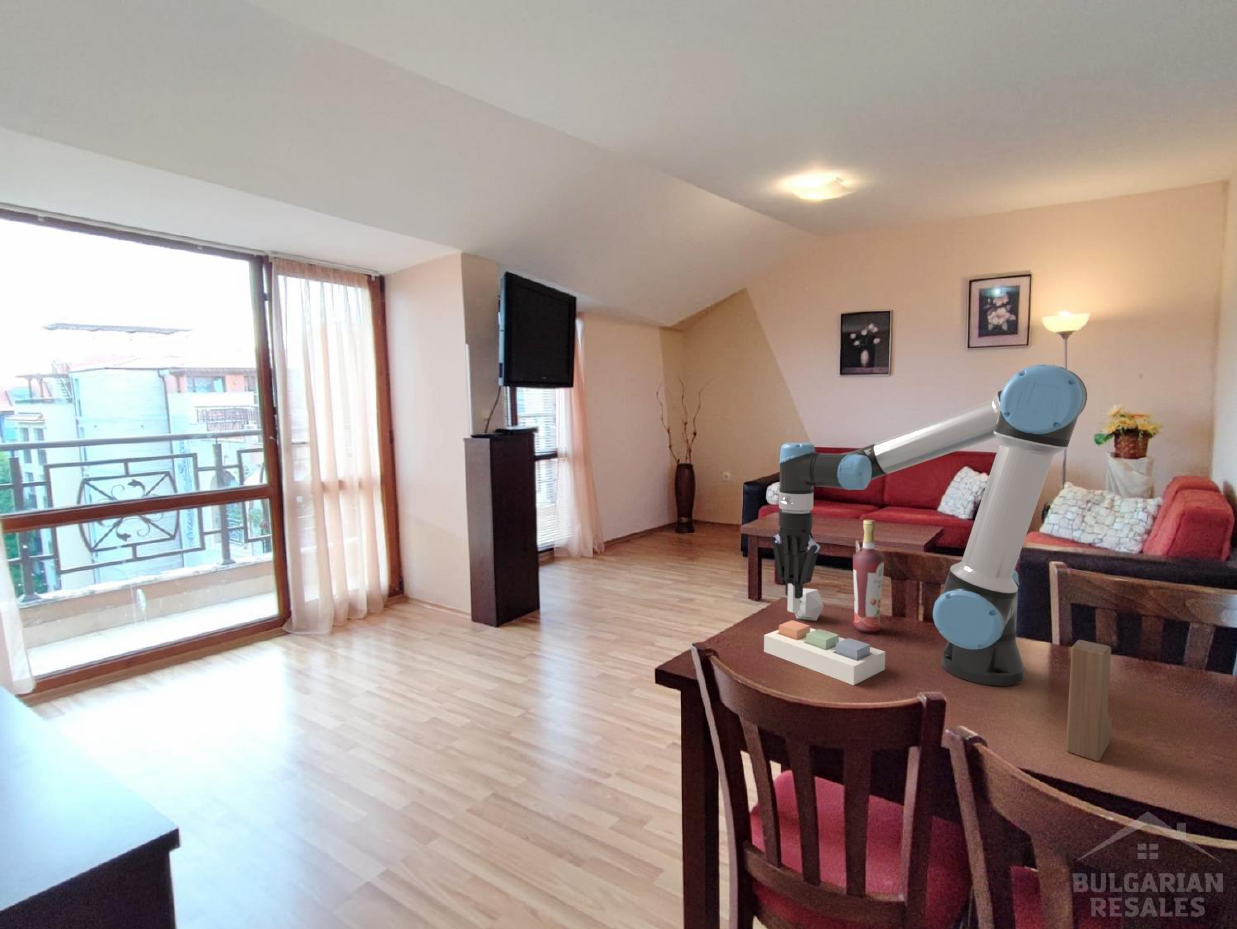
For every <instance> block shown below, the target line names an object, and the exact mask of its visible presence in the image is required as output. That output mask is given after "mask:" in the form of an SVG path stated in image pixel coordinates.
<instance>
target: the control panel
mask: <svg viewBox="0 0 1237 929" xmlns="http://www.w3.org/2000/svg"><path fill="white" fill-rule="evenodd" d="M815 630H816V629H815V628H813V627H812V628H811V627H810V632H812V631H815ZM845 639H846V638H843V637H840V636H839V642H841V641H843V640H845ZM763 652H764V653H767V654H769V655H772V656H774V657H776V658H780V659H783V660H785V661H788V662H790V663H793V664H796V665H799V666H800V667H803V668H806V669H809V670H811V671H814V672H817V673H821V674H823V675H825V676H827V677H831V678H832V679H833V678H834V679H835V680H838V681H841V682H843V683H847V684H849V685H851V686H856V685H857V684H859V683H861V682H863V681H865V680H867V679H869V678H871V677H873V676H874V675H877V674H879V673H881V672H882V671H885V669H886V650H885V651H884V650H881V649H878V648H875V647H872V646H870V656H867V657H865V658H863V659H861V660H859V661H856V660H853V659H850V658H847V657H844V656H841V655H838V654H836V646H835V647H833V648H831V649H828V650H824V649H821V648H818V647H815V646H812V645H809V644H806V637H805V638H802V639H800V640H794V639H791V638H789V637H786V636H783V635H780V634H779V629H777V630H773V631H772V632H768V633H766V634H763Z"/></svg>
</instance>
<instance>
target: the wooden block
mask: <svg viewBox="0 0 1237 929" xmlns="http://www.w3.org/2000/svg"><path fill="white" fill-rule="evenodd" d="M1070 653H1071V654H1070V669H1069V672H1070V673H1069V674H1070V675H1069V690H1068V709H1067V724H1066V725H1067V726H1066V743H1065V744H1066V745H1065V749H1066V752H1068V753H1070V754H1073V753H1074V755H1076V756H1080V757H1083V758H1085V759H1088V760H1091V761H1094V762H1100V761H1101V758H1102V757H1103V755H1104V753H1105V752H1106V750H1107V748H1108V747H1109V745H1110V743H1111V742H1112V741H1111V739H1112V728H1113V727H1112V726H1113V718H1112V716H1110V715H1108V712H1109V708H1108V707H1109V706H1108V705H1109V694H1110V693H1109V689H1110V688H1109V687H1110V677H1111V676H1110V674H1111V658H1112V656H1111V654H1112V647H1111V646H1110V645H1106V644H1102V643H1101V644H1100V643H1096V642H1093V641H1092V642H1091V641H1087V640H1083V639H1078V640H1076V642H1075V643H1074V644H1072V647H1071V651H1070Z"/></svg>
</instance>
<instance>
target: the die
mask: <svg viewBox="0 0 1237 929" xmlns="http://www.w3.org/2000/svg"><path fill="white" fill-rule="evenodd" d="M823 609H824V603H823V600H822V598H821V595H820V593H819V589H816V588H815V589H814V588H804V587H803V596H802V598H800V610H799V611H796V612H793V613H794V615H795V619H797V620H806V621H815V622H816V621H818V618H819V616H820V615H821V613H822V611H823Z"/></svg>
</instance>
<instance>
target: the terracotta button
mask: <svg viewBox="0 0 1237 929" xmlns="http://www.w3.org/2000/svg"><path fill="white" fill-rule="evenodd" d="M810 628H811V625H808V624H805V623H803V622H800V621H796V620H792V619H791V620H789V621H786V622H784V623H781V624H779V625H778V630H779V634H780V635H783V636H786V637H789V638H791V639H794V640H800V639H802V638H805V637H806V634H807V633H810Z"/></svg>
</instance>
